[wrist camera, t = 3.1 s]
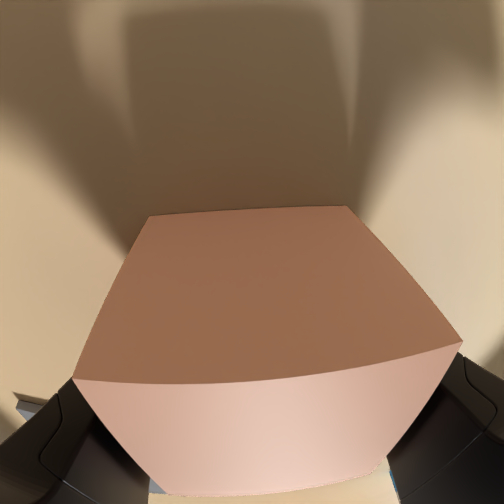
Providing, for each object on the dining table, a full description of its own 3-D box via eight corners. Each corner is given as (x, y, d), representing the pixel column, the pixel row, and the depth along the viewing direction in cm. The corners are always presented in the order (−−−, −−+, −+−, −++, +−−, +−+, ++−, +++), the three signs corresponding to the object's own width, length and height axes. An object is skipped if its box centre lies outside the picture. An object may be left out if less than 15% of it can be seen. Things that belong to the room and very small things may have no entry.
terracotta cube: (179, 355, 10) (168, 494, 5) (149, 216, 7) (71, 378, 3) (326, 344, 10) (369, 473, 6) (345, 205, 8) (462, 341, 3)
